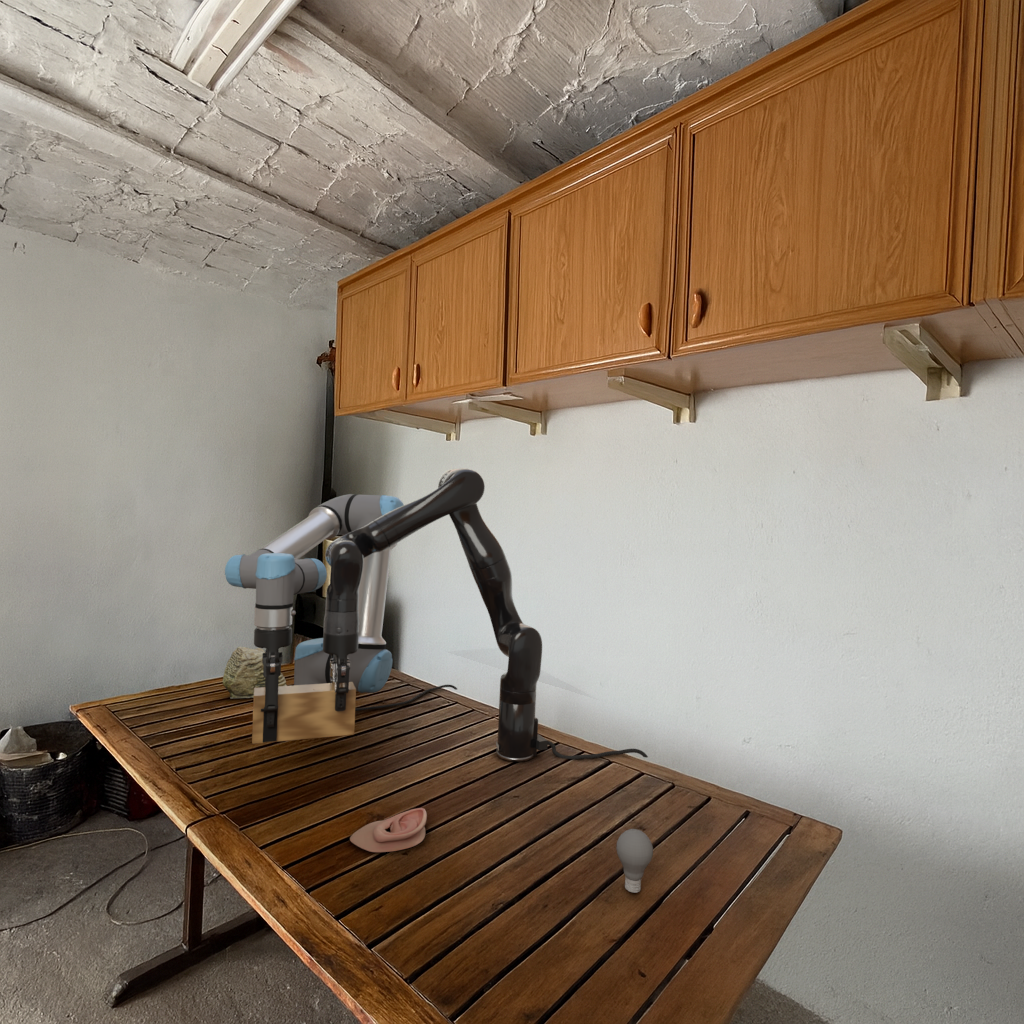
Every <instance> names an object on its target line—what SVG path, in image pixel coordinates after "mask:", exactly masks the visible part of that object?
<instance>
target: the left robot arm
mask: <svg viewBox="0 0 1024 1024" xmlns="http://www.w3.org/2000/svg"><path fill="white" fill-rule="evenodd" d="M403 505H405V504H404V501H402V500H401V499H400V497H397V496H394V495H385V494H357V493H349V494H343V495H339V496H336V497H334V498H331V499H328V500H327V501H325V502H322V503H321V504H319V505H317V506H316V507H314V508H313V509H312V510H311V511H309V513H308V516H307V517H306V518H304V519H302V520H301V521H300V522H298V523H297V524H295V525H294V526H292V527H291V528H289V529H288V530H286V531H285V532H282V533H281V534H280V535H278V536H277V537H275V538H273V539H272V540H271V541H269V542H268V543H266V544H264V545H263V546H262V547H260V548H258V549H257V550H255V551H254V552H252V553H251V554H248V555H247V554H244V553H243V554H235V555H233V556H231V557H230V558H229V559H228V560H227V562H226V564H225V567H224V575H225V580H226V582H227V583H228V584H229V585H230V586H232V587H236V588H242V589H252V590H255V606H254V621H253V623H254V624H253V625H254V626H255V628H254V631H253V646H255V647H256V648H261V649H265V650H264V652H265V653H263V657H262V663H263V676H264V677H265V707H264V709H261V712H264V719H263V742H267V743H272V742H271V741H277V718H278V683H279V676H280V675H281V673H282V664H283V656H284V655H283V652H282V651H280V649H281V648H286V647H289V646H290V645H291V644H292V642H293V627H291V625H293V616H295V615H296V613H297V612H296V610H293V609H294V608H293V607H294V596H295V595H299V594H304V593H311V592H314V591H315V590H318V589H320V588H322V586H324V584H325V583H326V581H327V576H328V573H327V572H328V571H327V567H326V566H325V564H324V563H323V562H322V561H321V560H319V559H317V558H314V557H313V558H311V557H310V558H308V557H304V556H305V555H306V554H308V553H309V552H310V551H312V550H313V549H314V548H315V547H317V546H319V544H321V543H323V542H324V541H325V540H332V539H334V538H336V536H343V535H346V534H348V533H350V532H352V531H355V530H357V529H360V528H362V527H364V526H366V525H367V524H369V523H370V522H372V521H374V520H375V519H377V518H379V517H381V516H383V515H384V514H386V513H388V512H390V511H392V510H394V509H396V508H399V507H401V506H403ZM397 546H398V543H396V544H394V545H393V546H391V547H389V548H388V549H386V550H384V551H381V552H376V553H373V554H371V555H369V556H367V557H365V558H364V562H363V571H362V577H361V582H360V586H359V609H358V610H359V639H358V650H357V652H355V653H353V654H348V655H347V658H349V661H350V669H349V682H353V684H354V686H355V688H356V692H358V693H361V694H363V693H369V694H374V693H378V692H380V691H381V690H382V689H383V688H384V687H385V685H386V683H387V682H388V680H389V678H390V675H391V671H392V668H393V654H392V652H391V651H390V650H388V649H386V648H387V642H386V640H385V639H384V638H383V636H382V634H383V627H384V625H383V624H384V618H385V608H386V601H387V600H386V598H387V591H388V582H389V574H390V573H389V572H390V564H391V553H392V550H393V549H394V548H395V547H397ZM302 557H304V558H302ZM330 659H331V654H327V653H325V652H324V651H323V637H318V638H313V639H307V640H304V641H302V642H299V643H298V644H297V645H296V647H295V652H294V659H293V660H294V672H293V685H309V684H325V683H331V679H332V678H331V677H330ZM445 688H452V689H454V690H458V687H456V686H455V685H453V684H442V685H438V686H436V687H432V688H428V689H426V690H424V691H422V692H421V693H418V694H417V695H415V696H414V697H412V698H411V699H408V700H405V701H402V702H401V701H400V702H396V703H390V704H385V705H376V706H374V705H373V706H367V707H355V712H361V711H371V710H379V709H386V708H392V707H398V706H402V705H406V704H407V705H408V704H410V703H412V702H413V701H415V700H418V699H419V698H420V697H423V696H424V695H425V694H427V693H429V692H433V691H437V690H440V689H445Z"/></svg>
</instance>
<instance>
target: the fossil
mask: <svg viewBox="0 0 1024 1024" xmlns="http://www.w3.org/2000/svg"><path fill="white" fill-rule="evenodd" d="M263 653H265V650H264V648H258V647H256V648H251V647H247V646H246V647H245V646H238V647H237V648H236V649H235V650H233V651H232V653H231V656H230V657H229V659H228V660H227V663H226V666H225V668H224V671H223V675H222V676H223V677H222V685H223V687H224V688H225V690H226V691H228V693H229V698H230V699H250V698H254V688H261V687H265V677H264V676H263V663H262V657H263ZM278 686H288V685H287V680H286V678H285V676H284V674H283V673H282V672H281V675H280V676H279V683H278Z"/></svg>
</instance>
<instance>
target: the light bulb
mask: <svg viewBox="0 0 1024 1024" xmlns="http://www.w3.org/2000/svg"><path fill="white" fill-rule="evenodd" d="M615 849H616V854H617V857H618V859H619V861H620V863H621V865H622V867H623V873H624V874H623V875H624V876H625V878H624V888H625V890H627V891H628V892H630V893H634V894H635V893H639V892H640V891H641V889H642V887H641V886H642V879H643V877H644V875H645V871H646V868H647V867H648V866H649V864H650V863H651V861H652V859H653V855H654V847H653V843H652V841H651V838H649V836H648V835H647V834H646V833H645V832H643V831H642V830H641V829H636V828H629V829H627V830H625V831H623V832H622V833H621V834H620V835H619V837H618V839H617V841H616V847H615Z"/></svg>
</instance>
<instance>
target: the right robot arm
mask: <svg viewBox="0 0 1024 1024" xmlns="http://www.w3.org/2000/svg"><path fill="white" fill-rule="evenodd" d="M484 493H485V481H484V479H483V477H482V475H481V474H480V473H479V472H477V470H473V469H470V468H451V469H447V470H446V471H444V472H443V473H442V474H441V476H440V477H439V479H438V482H437V488H436V489H435V490H433V491H431V492H430V493H428V494H427V495H424V496H422V497H420V498H418V499H416V500H413V501H410V502H408V503H406V504H404V505H403V506H401V507H399V508H396V509H394V510H392V511H390V512H388V513H386V514H384V515H383V516H381V517H379V518H377V519H375V520H374V521H372V522H370V523H369V524H367V525H366V526H364V527H362V528H360V529H357V530H355V531H352V532H350V533H348V534H344V535H340V537H338V538H335V539H334V540H333V541H332V542H330V543H329V544H328V546H327V547H326V550H325V554H324V555H325V561H326V563H327V564H328V565H329V566H330V577H329V578H330V579H329V584H328V585H327V588H326V595H325V613H324V618H323V635H322V638H323V651H324V652H325V653H327V654H331V659H330V677H331V678H332V679H331V683H334V684H335V711H344V710H345V709H346V693H348V691H349V669H350V661H349V658H347V655H348V654H353V653H355V652H357V650H358V639H359V610H358V609H359V586H360V582H361V577H362V571H363V562H364V558H365V557H367V556H369V555H371V554H373V553H376V552H381V551H384V550H386V549H388V548H389V547H391V546H393V545H394V544H396V543H397V544H398V543H399V542H401V541H403V540H404V539H406V538H409V536H411V535H413V534H414V533H416V532H418V531H419V530H421V529H424V527H427V526H429V525H430V524H432V523H434V522H436V521H438V520H440V519H442V518H444V517H446V516H449V517H450V520H451V522H452V524H453V526H454V528H455V530H456V532H457V535H458V538H459V542H460V544H461V547H462V550H463V552H464V555H465V557H466V561H467V564H468V567H469V569H470V572H471V575H472V577H473V579H474V582H475V585H476V586H477V588H478V591H479V594H480V596H481V599H482V601H483V603H484V605H485V608H486V611H487V613H488V615H489V620H490V622H491V627H492V630H493V633H494V638H495V641H496V645H497V647H498V650H499V651H500V652H501V653H502V654H503V655H504V656H505V657H507V658H508V662H507V671H506V672H504V673H503V674H501V675H500V680H499V696H498V697H499V698H498V699H499V701H498V720H497V721H498V722H497V723H498V725H497V740H495V747H496V756H497V757H498V758H499V759H500V760H503V761H508V762H512V763H513V762H514V763H522V762H527V761H530V760H532V759H533V758H536V757H537V756H538V751H544V750H548V746H550V747H551V750H552V751H551V752H552V754H553V755H554V756H555V757H557V758H560V759H566V760H573V761H574V760H575V761H576V760H577V761H578V760H593V759H598V758H599V759H600V758H603V757H604V758H605V757H608V756H618V755H624V754H625V755H626V754H632V753H633V754H634V753H635V754H638V755H640V756H642V757H643V758H649V756H648V755H647V753H646V752H644V751H643V750H641V749H639V748H626V749H620V750H609V751H603V752H600V753H599V752H598V753H593V754H578V755H577V754H576V755H565V754H562V753H560V752H558V751H557V747H556V745H555V744H554V742H552V741H551V740H548V739H547V738H545V737H543V736H542V735H540V734H539V719H538V718H537V717H536V709H537V707H536V706H537V705H536V704H537V685H538V681H539V679H540V677H541V669H542V661H543V660H542V657H543V640H542V639H543V638H542V636H541V634H540V632H539V631H538V630H537V629H536V628H535V627H532V626H530V625H527V624H525V623H524V622H523V621H522V619H521V617H520V614H519V612H518V610H517V608H516V605H515V602H514V598H513V575H512V571H511V567H510V564H509V562H508V559H507V556H506V554H505V551H504V549H503V547H502V546H501V544H500V542H499V540H498V539H497V538H496V536H495V535H494V533H493V532H492V530H490V528H489V526H488V525H487V524H486V522H485V521H484V519H483V517H482V515H481V512H480V510H479V506H478V504H477V503H479V502H480V501H481V500H482V498H483V496H484ZM340 683H344V687H341V688H339V684H340Z"/></svg>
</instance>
